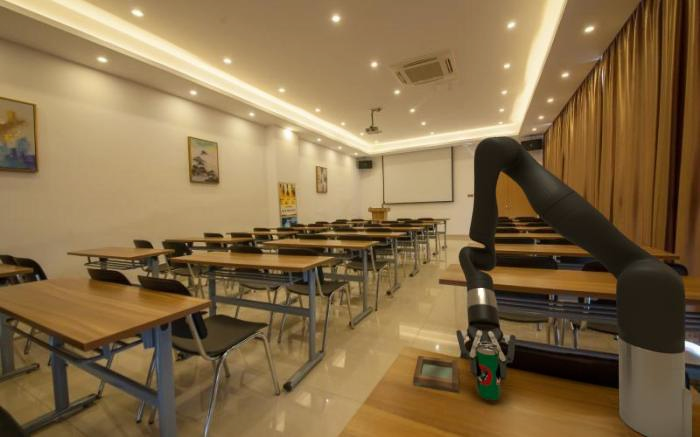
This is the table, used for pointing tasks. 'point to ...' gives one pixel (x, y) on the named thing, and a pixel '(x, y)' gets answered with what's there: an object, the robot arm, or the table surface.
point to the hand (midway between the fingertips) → (488, 378)
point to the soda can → (488, 371)
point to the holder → (437, 373)
